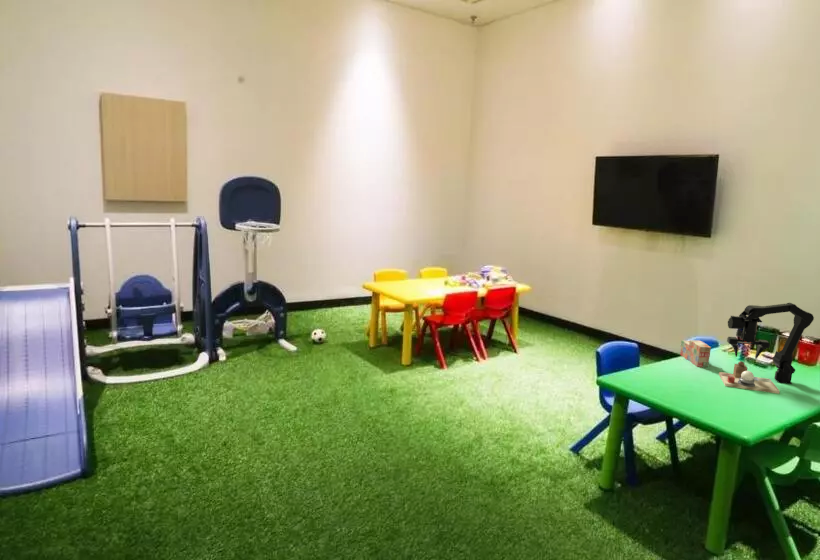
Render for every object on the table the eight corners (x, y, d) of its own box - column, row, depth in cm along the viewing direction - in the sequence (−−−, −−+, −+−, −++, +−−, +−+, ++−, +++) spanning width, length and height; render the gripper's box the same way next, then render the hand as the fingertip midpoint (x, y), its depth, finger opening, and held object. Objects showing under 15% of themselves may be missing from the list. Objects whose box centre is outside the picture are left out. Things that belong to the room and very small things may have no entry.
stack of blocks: (679, 354, 328) (682, 335, 325) (689, 355, 327) (692, 335, 325) (697, 367, 307) (700, 346, 304) (708, 367, 306) (711, 346, 304)
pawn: (743, 375, 290) (746, 360, 288) (745, 378, 285) (748, 363, 284) (733, 374, 292) (735, 359, 290) (735, 377, 287) (737, 362, 285)
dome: (752, 380, 280) (754, 370, 279) (755, 384, 274) (757, 374, 273) (737, 378, 282) (739, 368, 281) (740, 382, 276) (742, 372, 275)
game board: (769, 381, 287) (770, 373, 286) (779, 394, 270) (780, 385, 269) (718, 374, 295) (719, 366, 294) (725, 386, 278) (726, 378, 277)
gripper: (765, 327, 290) (761, 355, 293) (726, 323, 296) (723, 351, 299) (772, 332, 280) (767, 361, 283) (731, 329, 286) (727, 357, 289)
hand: (745, 357), depth 289 cm, fingers open, 9 cm apart
